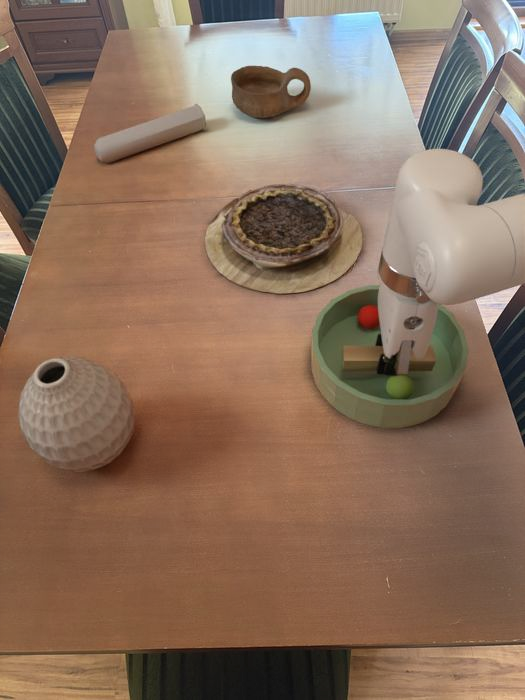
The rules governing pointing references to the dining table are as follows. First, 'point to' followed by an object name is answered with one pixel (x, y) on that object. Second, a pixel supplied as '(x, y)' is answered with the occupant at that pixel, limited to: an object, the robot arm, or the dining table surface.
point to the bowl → (266, 90)
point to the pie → (283, 239)
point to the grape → (400, 386)
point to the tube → (150, 134)
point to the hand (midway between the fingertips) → (387, 362)
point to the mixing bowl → (369, 387)
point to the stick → (370, 355)
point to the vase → (76, 413)
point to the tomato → (369, 317)
